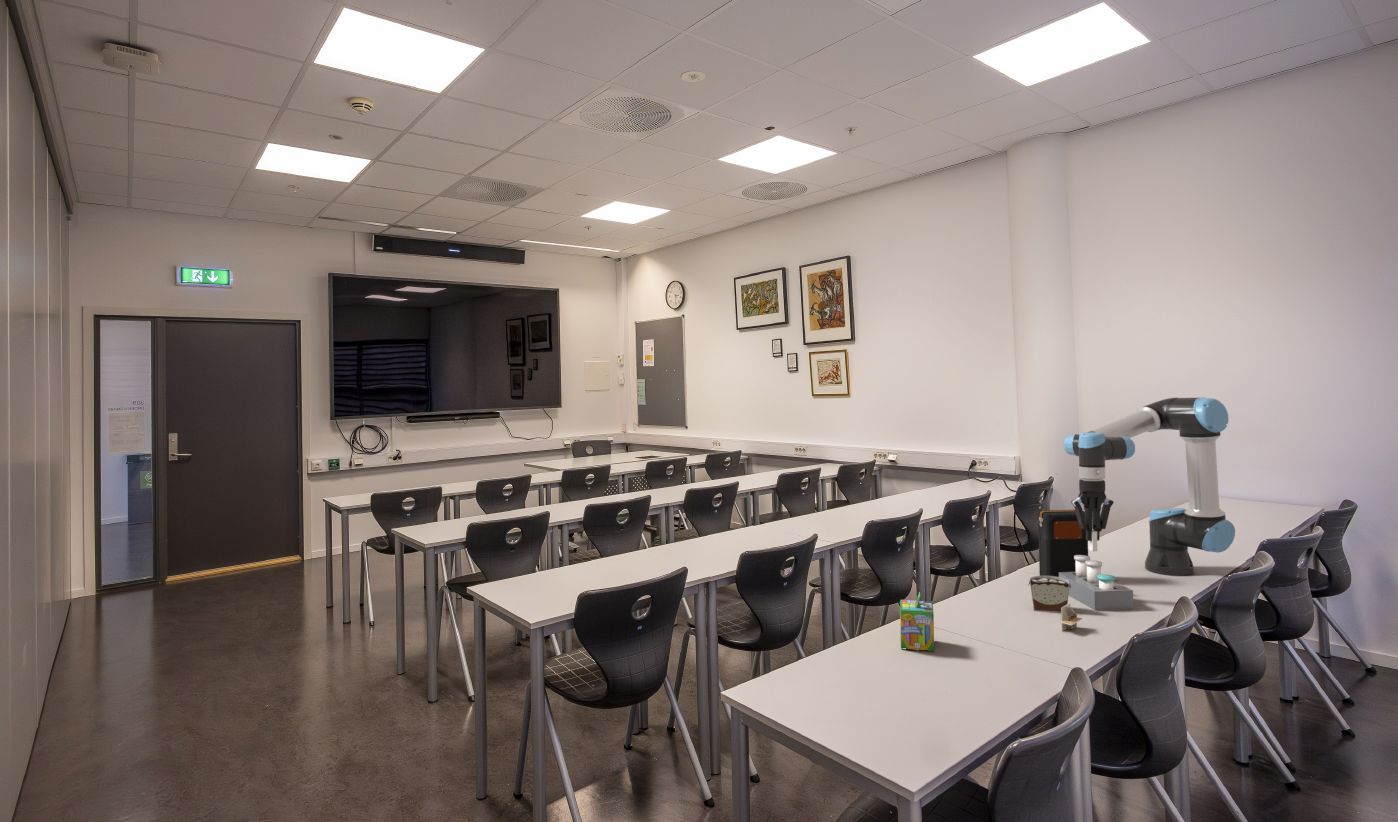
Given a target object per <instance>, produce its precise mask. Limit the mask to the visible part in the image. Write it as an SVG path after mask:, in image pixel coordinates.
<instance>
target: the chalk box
mask: <svg viewBox="0 0 1398 822" xmlns="http://www.w3.org/2000/svg"><path fill="white" fill-rule="evenodd" d="M899 610H900V611H899V612H900V613H899V615H900V617H899V619H900V620H899V622H900V624H899V625H900V628H899V629H900V630H899V631H900V632H899V633H900V634H899V635H900V649H901V648H906V649H916V650H915V651H919V650H928V651H927V652H931V651H934V650H935V637H934V636H935V633H934V632H935V628H934V627H935V626H934V622H935V621H934V620H935V619H934V616H935V615H934V602H933V601H926V600H921V592H920V591H919V592H918V595H917V598H916V600H915V599H914V600H913V599H912V600H910V599H900V600H899ZM906 649H905V650H906ZM917 649H918V650H917ZM934 652H935V651H934Z"/></svg>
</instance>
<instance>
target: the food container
mask: <svg viewBox="0 0 1398 822" xmlns="http://www.w3.org/2000/svg"><path fill="white" fill-rule="evenodd" d="M1027 586H1030V591H1031V593H1030V594H1031V601H1032V605H1033V611H1034V612H1044V611H1047V612H1046V613H1060V614H1061V607H1063V606H1065V605H1067V604H1069V597H1070V596H1069V587H1070V588H1071V584H1070V582H1069V581H1068V580H1066V579H1064V578H1060V577H1054V576H1040V575H1035V576H1032V577H1030V578H1029V580H1028V584H1027Z"/></svg>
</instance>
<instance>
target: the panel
mask: <svg viewBox="0 0 1398 822" xmlns="http://www.w3.org/2000/svg"><path fill="white" fill-rule="evenodd" d="M1059 577H1060V578H1064V579H1066V580H1068V581H1069V582H1070V584H1071V588H1070V587H1069V595H1070V596H1069V597H1072V598H1073V599H1075V601H1076V600H1077V601H1079V602H1080V603H1081V602H1082V604H1083V605H1085V606H1087V607H1089V608H1090V609H1092V610H1094V611H1109V610H1111V611H1113V610H1114V611H1115V610H1133V609H1134V590H1133V589H1131V588H1129V587H1128V586H1125V585H1124V584H1121V583H1120V582H1117V581H1116V580H1115V581H1113V586H1114V589H1109V590H1103V589H1101V588H1099V583H1089V582H1087V577H1077V576H1076V572H1059Z"/></svg>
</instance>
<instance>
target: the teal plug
mask: <svg viewBox="0 0 1398 822" xmlns="http://www.w3.org/2000/svg"><path fill="white" fill-rule="evenodd" d="M1097 579H1098V580H1099V588H1101V589H1103V590H1109V589H1114V586H1113V581H1115V582H1116V577H1115V576H1114V575H1111V574H1103V573H1101V574H1099V575H1097Z"/></svg>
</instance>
